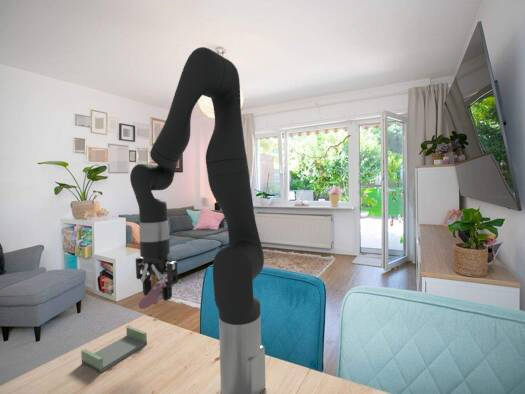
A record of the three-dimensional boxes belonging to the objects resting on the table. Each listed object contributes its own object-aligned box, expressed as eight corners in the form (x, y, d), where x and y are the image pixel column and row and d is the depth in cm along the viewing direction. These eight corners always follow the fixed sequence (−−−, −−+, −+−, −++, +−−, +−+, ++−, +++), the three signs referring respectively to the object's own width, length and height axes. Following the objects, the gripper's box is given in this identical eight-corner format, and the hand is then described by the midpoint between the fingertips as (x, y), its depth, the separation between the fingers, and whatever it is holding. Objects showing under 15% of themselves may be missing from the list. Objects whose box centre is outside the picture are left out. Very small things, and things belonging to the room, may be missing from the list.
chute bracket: (146, 344, 79) (146, 332, 78) (100, 373, 67) (99, 359, 67) (129, 337, 82) (128, 326, 82) (81, 363, 70) (81, 350, 70)
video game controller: (151, 315, 69) (161, 291, 69) (135, 308, 69) (146, 284, 69) (168, 299, 79) (177, 278, 79) (154, 292, 79) (163, 271, 79)
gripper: (184, 237, 73) (186, 296, 74) (148, 233, 80) (151, 288, 81) (161, 242, 67) (164, 307, 68) (125, 238, 74) (128, 297, 74)
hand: (157, 296), depth 74 cm, fingers closed on video game controller, 7 cm apart
